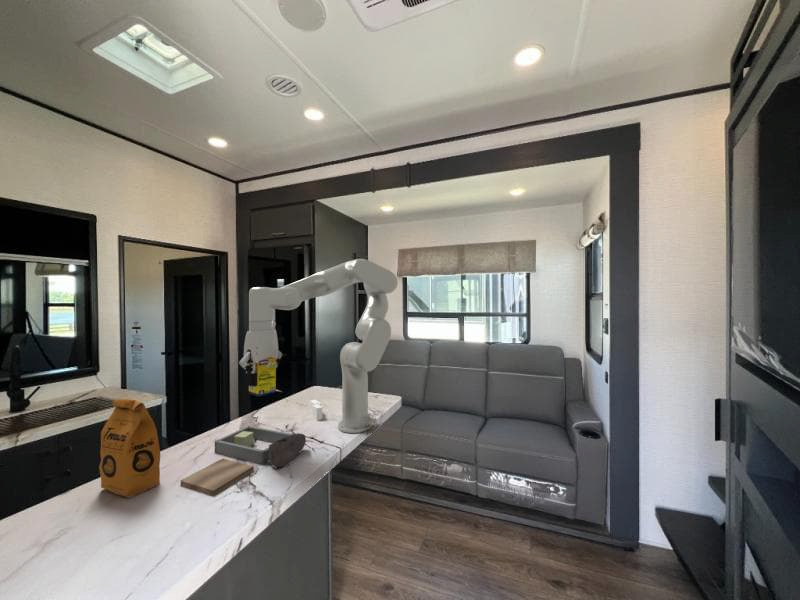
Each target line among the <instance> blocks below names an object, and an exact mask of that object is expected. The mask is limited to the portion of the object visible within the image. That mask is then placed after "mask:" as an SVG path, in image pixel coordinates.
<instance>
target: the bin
mask: <svg viewBox="0 0 800 600" xmlns="http://www.w3.org/2000/svg"><path fill="white" fill-rule="evenodd" d="M242 431H246V432H253V439H254V438H255V440H259V439H260V441H264V440H265V442H269V441H270V442H269V443H274V442H276V441H277V440H280V439H282V438H284V437H287V436H290V435H293V434H294V433H289V432H283V431H279V430H272V429H268V428H262V427H257V426H253V425H247V426H245V427H243V428H241V429H238V430H236V431H234V432H232V433H230V434H228V435H226V436H222V437H220V438H219V439H216V440H214V453H215V454H220V455H223V456H224V455H225V456H229V457H232V458H236V459H240V460H243V459H244V460H243V461H247V462H253V463H256V464H261V465H265V464H266V463H269V462H271V459H270V458H269V446H268V447H267V448H264V449H260V448H256V447H251V446H250V447H247V446H243V445H238V444H234V436H235V435H237V434H239V433H241V432H242Z"/></svg>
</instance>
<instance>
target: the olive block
mask: <svg viewBox="0 0 800 600" xmlns="http://www.w3.org/2000/svg"><path fill="white" fill-rule="evenodd" d="M234 444H238V445H243V446H247V447H249V446H250V447H251V446H253V445H254V438H253V432H246V431H242V432H241V433H239V434H237V435H235V436H234ZM252 444H253V445H252Z"/></svg>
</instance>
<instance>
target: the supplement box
mask: <svg viewBox="0 0 800 600" xmlns="http://www.w3.org/2000/svg"><path fill="white" fill-rule="evenodd" d="M252 367H253V365H252ZM252 367H251V368H252ZM255 373H257V386H255V387H254V386H248V393H249V394H250V395H253V396H255V397H261V396H265V395H266V396H267V395H269V394H274V393H276V391H277V390H276V388H277V387H276V385H277V384H276V382H277V368H276V358H269V359H265V360H261V361H259V362H258V364H257V369H256V372H255Z"/></svg>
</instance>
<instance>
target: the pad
mask: <svg viewBox="0 0 800 600" xmlns="http://www.w3.org/2000/svg"><path fill="white" fill-rule="evenodd" d="M254 467H255V466H253V465H251V464H246V463H241V462H239V461H234V460H230V459H226V458H221V459H219V460H217V461H215V462H213V463H211V464H209V465H208V466H205V467H203V468H202V469H200V470H198V471H195V472H194V473H192V474H190V475H188V476H186V477H185V478H182V479H181V480H180V486H183V487H185V488H189V489H192V490H195V491H198V492H200V493H203V494H207V495H211V496H213V497H214V496H215V495H217V494H219V493H220V492H222V491H224V490H225V489H226V488H228V487H229V486H232V485H233V484H234V483H236V482H238V481H239V480H241V479H242V478H244V477H246V476H247V475H249V474H251V473H252V472H254V470H255V469H254Z"/></svg>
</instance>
